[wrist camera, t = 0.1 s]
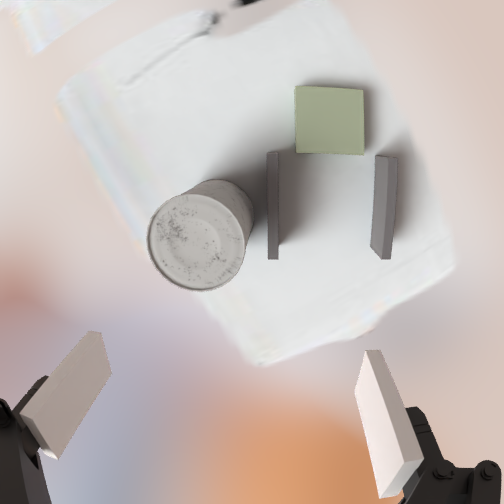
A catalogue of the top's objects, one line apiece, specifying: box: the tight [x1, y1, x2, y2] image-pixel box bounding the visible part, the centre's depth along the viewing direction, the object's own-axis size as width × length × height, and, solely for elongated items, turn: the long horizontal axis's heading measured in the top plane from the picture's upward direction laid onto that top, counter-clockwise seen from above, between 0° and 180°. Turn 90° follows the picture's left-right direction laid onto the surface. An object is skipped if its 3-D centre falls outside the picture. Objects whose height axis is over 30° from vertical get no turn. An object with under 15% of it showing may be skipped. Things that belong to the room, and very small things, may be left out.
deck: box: [294, 86, 364, 155], centre depth 35 cm, size 8×8×2 cm
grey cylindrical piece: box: [146, 180, 254, 292], centre depth 35 cm, size 10×10×12 cm
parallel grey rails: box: [267, 152, 398, 259], centre depth 37 cm, size 12×15×5 cm
